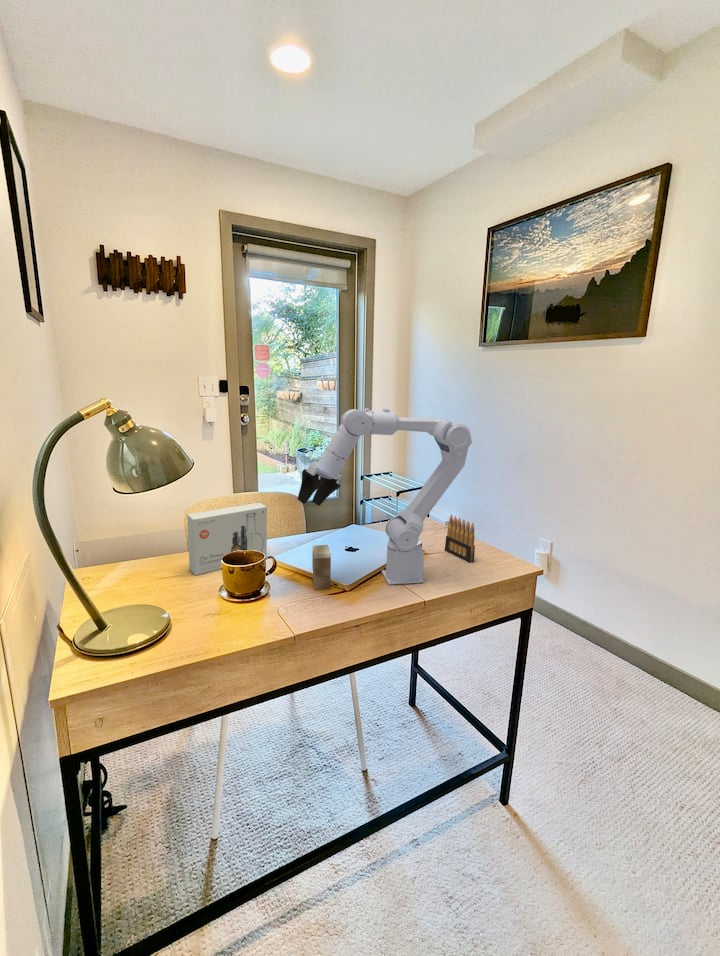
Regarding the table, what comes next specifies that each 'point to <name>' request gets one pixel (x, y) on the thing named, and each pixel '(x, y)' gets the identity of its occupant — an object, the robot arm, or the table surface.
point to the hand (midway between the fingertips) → (308, 502)
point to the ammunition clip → (460, 539)
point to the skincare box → (225, 534)
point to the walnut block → (321, 567)
